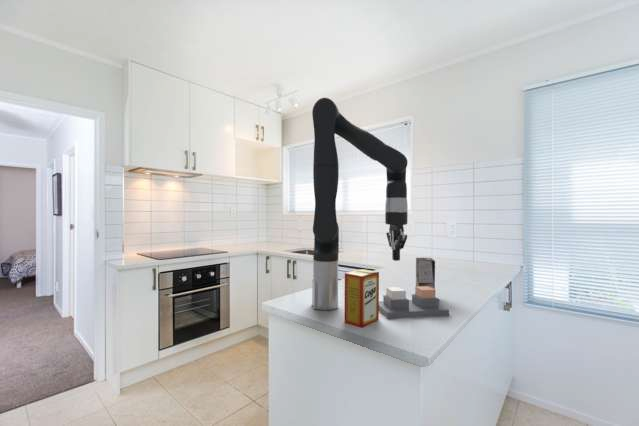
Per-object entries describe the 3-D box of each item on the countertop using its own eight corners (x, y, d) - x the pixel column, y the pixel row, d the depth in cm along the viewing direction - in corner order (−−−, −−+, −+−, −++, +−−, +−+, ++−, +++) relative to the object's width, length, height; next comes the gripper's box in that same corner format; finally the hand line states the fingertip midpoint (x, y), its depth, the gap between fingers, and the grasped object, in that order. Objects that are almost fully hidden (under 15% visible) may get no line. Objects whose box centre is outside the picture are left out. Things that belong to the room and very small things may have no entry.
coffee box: (435, 302, 115) (435, 260, 115) (418, 301, 116) (418, 260, 116) (431, 295, 124) (431, 257, 124) (415, 294, 125) (415, 256, 125)
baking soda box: (361, 328, 89) (361, 275, 89) (344, 322, 93) (344, 272, 93) (378, 320, 96) (378, 270, 95) (362, 315, 100) (362, 268, 100)
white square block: (391, 299, 101) (391, 291, 101) (386, 295, 106) (386, 287, 106) (405, 299, 101) (405, 290, 101) (399, 295, 106) (399, 287, 106)
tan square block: (422, 298, 102) (422, 290, 102) (415, 294, 107) (415, 286, 107) (435, 298, 103) (435, 289, 103) (428, 294, 108) (428, 286, 108)
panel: (387, 318, 97) (387, 303, 97) (374, 307, 109) (375, 293, 109) (449, 315, 100) (449, 300, 100) (430, 304, 112) (430, 291, 112)
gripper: (379, 211, 109) (379, 257, 109) (393, 210, 96) (393, 263, 96) (398, 211, 110) (398, 257, 111) (415, 211, 97) (415, 263, 97)
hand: (396, 260), depth 103 cm, fingers closed
